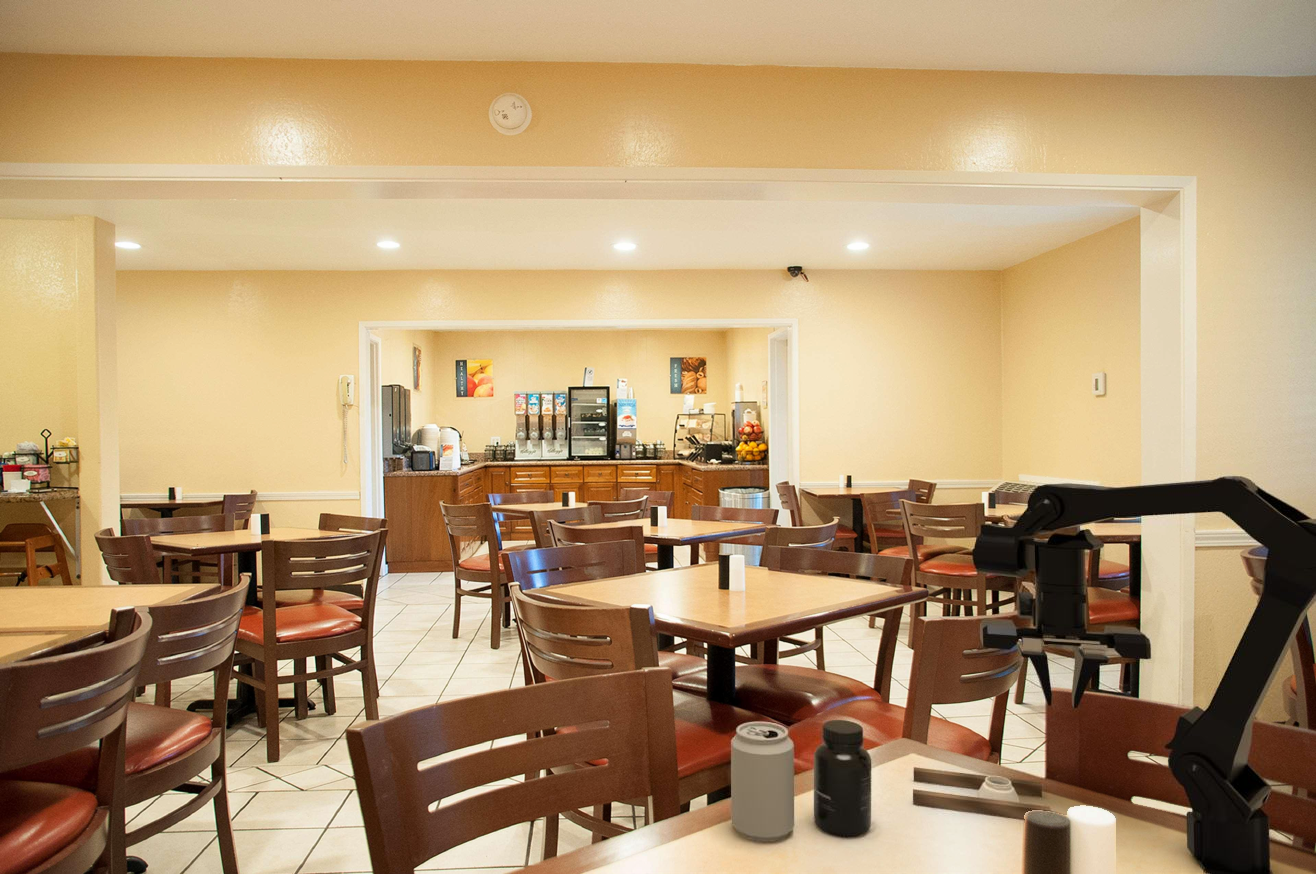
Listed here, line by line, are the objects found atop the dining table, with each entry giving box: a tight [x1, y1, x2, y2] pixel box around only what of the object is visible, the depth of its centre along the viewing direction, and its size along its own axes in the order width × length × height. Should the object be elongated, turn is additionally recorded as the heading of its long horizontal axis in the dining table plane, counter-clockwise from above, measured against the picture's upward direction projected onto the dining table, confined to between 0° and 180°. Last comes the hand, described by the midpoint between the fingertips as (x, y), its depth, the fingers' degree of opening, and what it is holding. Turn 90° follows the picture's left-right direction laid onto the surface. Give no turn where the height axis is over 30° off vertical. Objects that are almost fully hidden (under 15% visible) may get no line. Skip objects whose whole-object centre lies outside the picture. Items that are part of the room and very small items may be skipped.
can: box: [730, 721, 795, 842], centre depth 94 cm, size 8×8×12 cm
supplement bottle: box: [813, 719, 872, 839], centre depth 95 cm, size 7×7×12 cm
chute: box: [912, 766, 1052, 821], centre depth 102 cm, size 16×9×2 cm, turn 71°
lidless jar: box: [976, 775, 1021, 803], centre depth 101 cm, size 5×3×5 cm
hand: (1061, 706), depth 99 cm, fingers open, 3 cm apart
